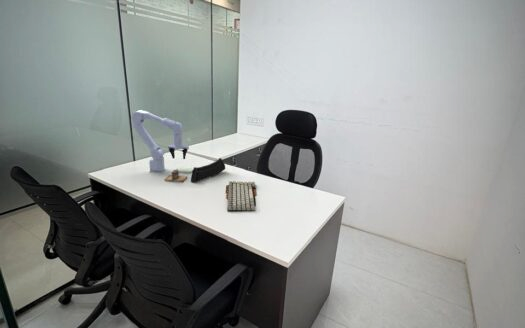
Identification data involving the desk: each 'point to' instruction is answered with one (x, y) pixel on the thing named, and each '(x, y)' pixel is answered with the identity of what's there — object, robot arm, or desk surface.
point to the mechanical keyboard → (241, 196)
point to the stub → (175, 177)
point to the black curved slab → (207, 170)
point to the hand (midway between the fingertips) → (178, 158)
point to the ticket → (184, 169)
